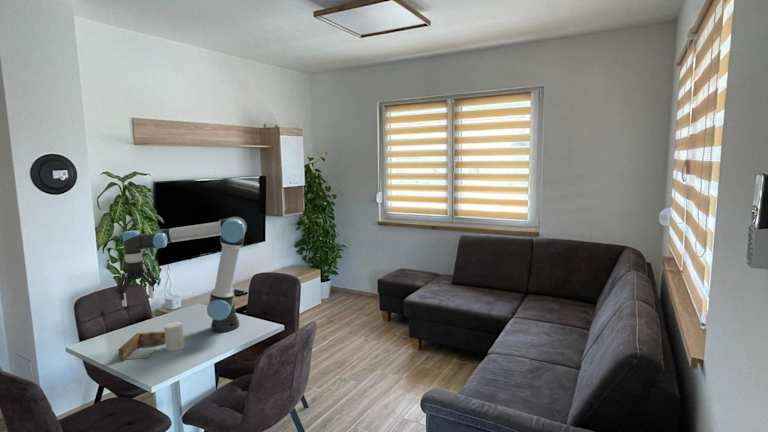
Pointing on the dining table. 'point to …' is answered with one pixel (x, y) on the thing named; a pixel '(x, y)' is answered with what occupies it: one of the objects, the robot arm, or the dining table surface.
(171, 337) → the cup
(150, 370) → the dining table surface
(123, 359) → the brown wooden l-shaped wall
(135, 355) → the pad
